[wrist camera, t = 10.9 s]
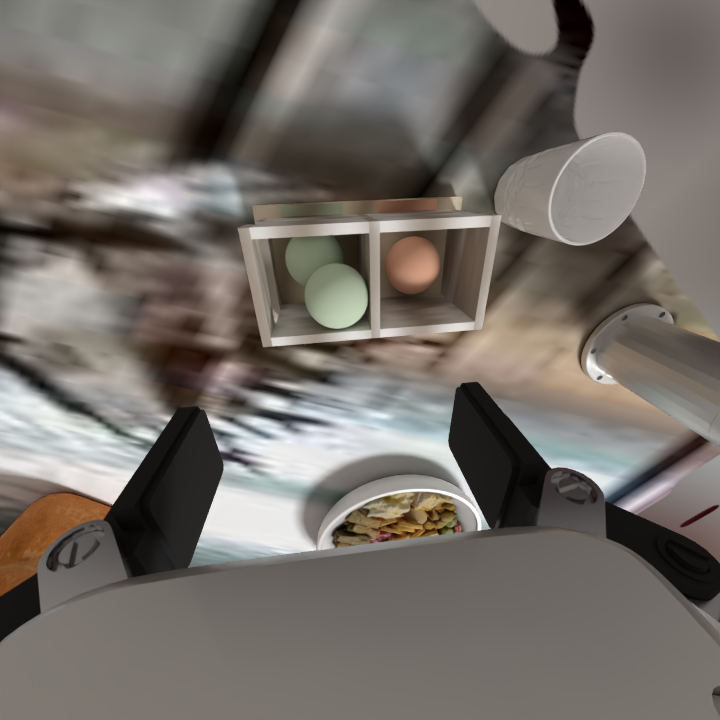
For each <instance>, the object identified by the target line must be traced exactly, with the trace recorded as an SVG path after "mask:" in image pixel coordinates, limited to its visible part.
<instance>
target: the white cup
mask: <svg viewBox="0 0 720 720" xmlns="http://www.w3.org/2000/svg"><path fill="white" fill-rule="evenodd" d="M645 177H646V158H645V154H644V151H643V148H642V146H641V145H640V143H639V142H638V141H637V140H636V139H635V138H634V137H632V136H630V135H629V134H626V133H622V132H609V133H604V134H601V135H598V136H594V137H590V138H586V139H583V140H579V141H575V142H572V143H568V144H564V145H561V146H557V147H555V148H552V149H548V150H545V151H542V152H539V153H537V154H534V155H530V156H526V157H523V158H522V159H520V160H519V161H517V162H515V163H514V164H512V165H510V166H509V168H508V169H507V170H506V172H505V173H504V174H503V176H502V177H501V178H500V179H499V182H498V185H497V188H496V191H495V195H494V203H495V212H496V214H497V215H502V216H501V222H502V223H504V224H506V225H508V226H510V227H513V228H516V229H519V230H521V231H524V232H527V233H530V234H533V235H537V236H540V237H544V238H548V239H552V240H555V241H559V242H563V243H566V244H570V245H576V246H580V245H587V244H591V243H594V242H597V241H599V240H601V239H603V238H604V237H606V236H607V235H609V234H610V233H612V232H613V231H614V230H615V229H616V228H618V227H619V226H620V225H621V224H622V223H623V221H624V220H625V219H626V218H627V217H628V215H629V214H630V213H631V211H632V210H633V208H634V206H635V205H636V203H637V201H638V199H639V197H640V194H641V192H642V189H643V186H644V182H645Z"/></svg>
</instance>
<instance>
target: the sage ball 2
mask: <svg viewBox="0 0 720 720" xmlns="http://www.w3.org/2000/svg"><path fill="white" fill-rule="evenodd" d="M368 300H369V294H368V288H367V285H366V283H365V281H364V279H363V277H362V276H361V275H360V274H359V273H358V272H357V271H356V270H355V269H353V268H352V267H350V266H348V265H344V264H339V263H333V264H328V265H325V266H322V267H320V268H319V269H317V270H316V271H315V272H314V273H313V274H312V275H311V277H310V278H309V280H308V282H307V284H306V288H305V304H306V307H307V309H308V311H309V313H310V315H311V316H312V317H313V318H314V319H315V320H316V321H317V322H318V323H320V324H321V325H323V326H326V327H329V328H334V329H340V328H345V327H349V326H351V325H353V324H354V323H356V322H357V321H358V320H359V319H360V318H361V317H362V316H363V314H364V312H365V310H366V308H367V305H368Z"/></svg>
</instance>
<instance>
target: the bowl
mask: <svg viewBox="0 0 720 720" xmlns="http://www.w3.org/2000/svg"><path fill="white" fill-rule="evenodd" d="M478 530H481V519H480V516H479V513H478V511H477V509H476V507H475V505H474V504H473V502H472V501H471V500H470V498H469V497H468V496H467V495H466V494H465V493H464V492H463V491H461V490H460V489H459V488H457V487H456V486H454V485H453V484H451V483H449V482H447V481H444V480H442V479H439V478H435V477H431V476H425V475H413V474H408V475H396V476H390V477H385V478H381V479H377V480H374V481H372V482H369V483H366V484H364V485H362V486H360V487H358V488H356V489H354V490H353V491H351V492H349V493H348V494H347V495H345V496H344V497H343V498H341V499H340V500H339V501H338V502H337V503H336V504H335V505H334V506H333V507H332V508H331V509H330V511H329V512H328V513H327V515H326V516H325V518H324V520H323V522H322V524H321V526H320V529H319V533H318V537H317V550H324V549H332V548H339V547H347V546H355V545H363V544H371V543H379V542H387V541H395V540H403V539H411V538H419V537H427V536H435V535H444V534H452V533H460V532H469V531H478Z"/></svg>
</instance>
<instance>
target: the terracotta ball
mask: <svg viewBox="0 0 720 720" xmlns="http://www.w3.org/2000/svg"><path fill="white" fill-rule="evenodd" d="M439 271H440V256H439V253H438V251H437V249H436V247H435V246H434V245H433V244H432V243H431V242H430V241H428V240H427V239H425V238H422V237H417V236H411V237H406V238H403V239H401V240H399V241H398V242H396V243H395V244H394V245H393V246H392V247H391V249H390V250H389V252H388V254H387V256H386V259H385V274H386V277H387V279H388V281H389V283H390V284H391V285H392V286H393V287H394V288H395V289H396V290H398V291H400V292H402V293H406V294H416V293H420V292H423V291H425V290H426V289H428V288H429V287H430V286H431V285H432V284H433V283H434V282H435V280H436V279H437V277H438V274H439Z"/></svg>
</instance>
